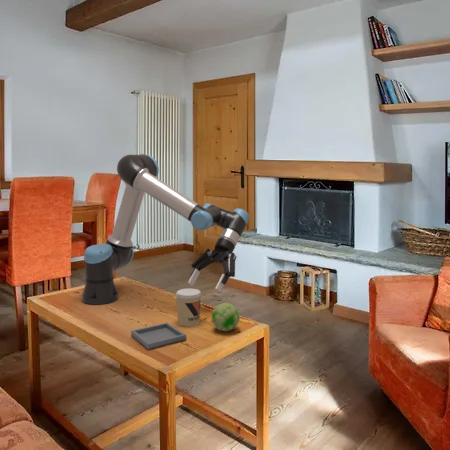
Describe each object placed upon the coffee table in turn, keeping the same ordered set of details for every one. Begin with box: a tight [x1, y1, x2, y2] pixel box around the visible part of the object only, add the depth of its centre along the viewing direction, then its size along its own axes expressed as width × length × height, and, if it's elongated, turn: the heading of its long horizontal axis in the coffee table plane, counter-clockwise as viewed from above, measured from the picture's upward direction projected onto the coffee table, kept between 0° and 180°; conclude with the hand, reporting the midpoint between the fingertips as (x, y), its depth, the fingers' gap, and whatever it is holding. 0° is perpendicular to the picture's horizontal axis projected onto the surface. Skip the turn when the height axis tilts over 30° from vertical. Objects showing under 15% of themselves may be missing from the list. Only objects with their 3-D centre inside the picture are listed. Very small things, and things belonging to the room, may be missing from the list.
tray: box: [130, 322, 187, 351], centre depth 157 cm, size 14×14×2 cm
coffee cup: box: [175, 287, 202, 327], centre depth 171 cm, size 9×9×12 cm
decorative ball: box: [211, 302, 240, 332], centre depth 164 cm, size 10×10×10 cm
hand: (203, 287), depth 175 cm, fingers open, 13 cm apart
